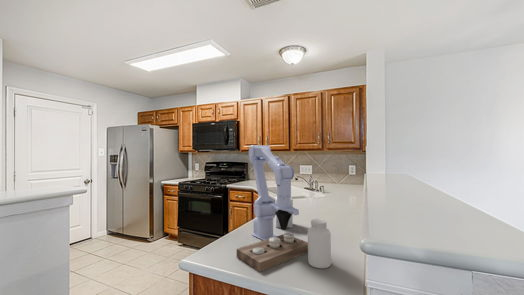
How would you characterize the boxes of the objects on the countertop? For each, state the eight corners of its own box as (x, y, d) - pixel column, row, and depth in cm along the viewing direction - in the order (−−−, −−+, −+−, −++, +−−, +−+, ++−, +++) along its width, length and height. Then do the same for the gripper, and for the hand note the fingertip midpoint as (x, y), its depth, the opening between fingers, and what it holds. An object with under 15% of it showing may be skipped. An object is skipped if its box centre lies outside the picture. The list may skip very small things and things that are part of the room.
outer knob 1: (250, 258, 84) (250, 249, 84) (259, 255, 87) (259, 246, 87) (257, 262, 80) (257, 253, 80) (266, 259, 83) (266, 250, 83)
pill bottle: (324, 271, 75) (323, 226, 75) (303, 264, 80) (302, 221, 81) (335, 262, 81) (334, 220, 81) (315, 256, 86) (314, 216, 87)
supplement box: (292, 228, 119) (293, 199, 120) (275, 227, 120) (276, 199, 120) (290, 222, 129) (291, 196, 129) (275, 222, 129) (275, 196, 129)
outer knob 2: (281, 242, 94) (281, 234, 94) (288, 239, 97) (288, 232, 97) (288, 245, 91) (289, 237, 91) (296, 243, 93) (296, 235, 93)
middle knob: (266, 247, 89) (266, 239, 89) (274, 244, 92) (274, 236, 92) (274, 251, 86) (274, 242, 86) (282, 248, 88) (282, 239, 88)
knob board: (236, 256, 86) (236, 248, 86) (285, 240, 102) (285, 233, 102) (259, 271, 75) (259, 262, 75) (310, 250, 91) (310, 243, 91)
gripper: (264, 194, 96) (264, 226, 95) (289, 199, 84) (289, 236, 84) (277, 192, 100) (277, 223, 100) (302, 197, 89) (302, 232, 88)
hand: (283, 229), depth 92 cm, fingers closed
